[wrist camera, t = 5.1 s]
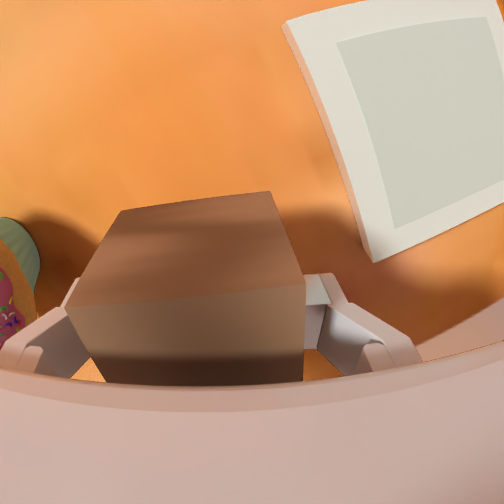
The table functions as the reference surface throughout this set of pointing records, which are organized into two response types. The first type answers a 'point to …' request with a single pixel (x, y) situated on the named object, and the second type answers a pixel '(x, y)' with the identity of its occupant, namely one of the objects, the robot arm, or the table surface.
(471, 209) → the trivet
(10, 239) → the cupcake
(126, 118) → the table surface
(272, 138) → the table surface
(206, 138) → the table surface
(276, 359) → the walnut cube
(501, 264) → the table surface
